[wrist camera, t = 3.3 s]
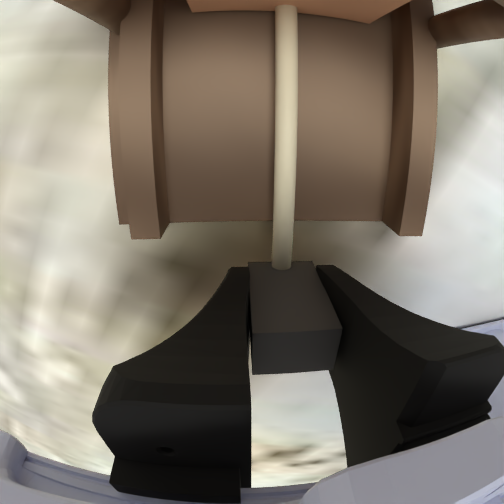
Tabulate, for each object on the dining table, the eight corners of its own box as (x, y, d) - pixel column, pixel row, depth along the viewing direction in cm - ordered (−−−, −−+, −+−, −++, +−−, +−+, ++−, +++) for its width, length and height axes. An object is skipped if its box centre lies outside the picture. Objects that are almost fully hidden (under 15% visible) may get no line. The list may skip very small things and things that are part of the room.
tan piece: (349, 293, 12) (396, 382, 8) (202, 298, 12) (186, 398, 8) (358, -73, 6) (411, -133, 1) (199, -85, 5) (181, -163, 1)
